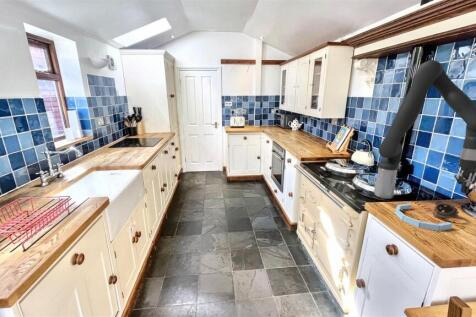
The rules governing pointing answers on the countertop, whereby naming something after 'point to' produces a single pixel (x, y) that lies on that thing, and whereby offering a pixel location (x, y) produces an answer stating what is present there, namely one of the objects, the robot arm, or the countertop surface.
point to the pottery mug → (445, 210)
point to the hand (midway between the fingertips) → (464, 192)
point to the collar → (419, 223)
